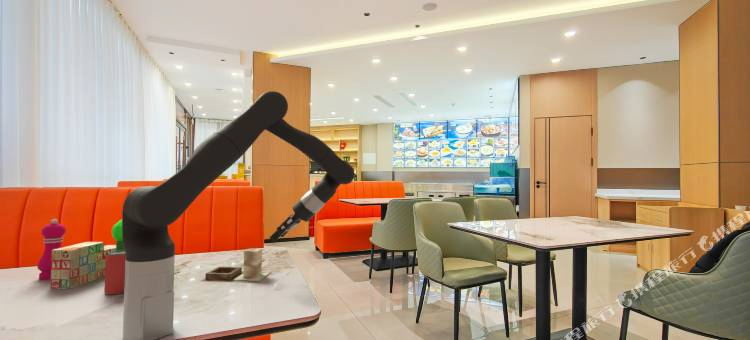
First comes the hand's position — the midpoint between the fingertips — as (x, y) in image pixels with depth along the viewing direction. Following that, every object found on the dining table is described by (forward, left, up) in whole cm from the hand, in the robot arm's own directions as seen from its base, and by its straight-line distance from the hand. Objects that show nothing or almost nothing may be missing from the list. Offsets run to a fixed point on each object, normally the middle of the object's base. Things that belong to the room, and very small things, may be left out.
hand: (276, 237), depth 112 cm
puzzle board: (+11, +7, -15) cm, 20 cm away
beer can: (+30, +35, -15) cm, 48 cm away
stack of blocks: (+53, +35, -15) cm, 65 cm away
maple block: (+7, +4, -13) cm, 16 cm away
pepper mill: (+65, +42, -15) cm, 79 cm away
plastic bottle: (+41, +28, -15) cm, 52 cm away
